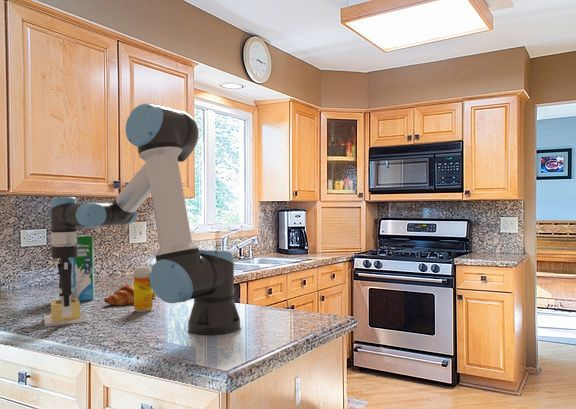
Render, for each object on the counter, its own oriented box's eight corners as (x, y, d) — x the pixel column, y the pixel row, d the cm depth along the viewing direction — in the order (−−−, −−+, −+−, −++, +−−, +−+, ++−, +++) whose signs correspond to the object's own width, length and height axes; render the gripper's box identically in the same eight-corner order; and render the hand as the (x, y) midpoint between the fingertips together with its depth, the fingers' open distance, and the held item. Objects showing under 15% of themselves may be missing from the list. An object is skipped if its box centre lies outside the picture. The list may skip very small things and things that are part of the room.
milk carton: (94, 296, 193) (93, 234, 193) (93, 300, 185) (92, 235, 185) (70, 297, 191) (69, 235, 191) (67, 302, 182) (66, 236, 182)
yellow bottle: (147, 312, 162) (146, 268, 162) (130, 312, 164) (130, 268, 164) (155, 308, 168) (155, 266, 168) (139, 308, 170) (139, 265, 170)
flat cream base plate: (87, 321, 150) (87, 302, 150) (44, 326, 145) (44, 307, 145) (84, 314, 161) (83, 296, 161) (44, 318, 155) (43, 300, 155)
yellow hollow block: (80, 318, 151) (80, 302, 151) (52, 321, 148) (51, 305, 148) (78, 313, 158) (77, 298, 158) (51, 316, 155) (50, 300, 155)
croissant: (152, 305, 190) (147, 287, 193) (165, 296, 185) (159, 277, 187) (101, 314, 174) (96, 293, 177) (113, 304, 169) (108, 283, 171)
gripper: (80, 247, 144) (81, 319, 144) (74, 242, 165) (75, 304, 165) (52, 248, 140) (53, 322, 140) (50, 243, 162) (51, 306, 162)
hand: (65, 312), depth 153 cm, fingers open, 12 cm apart
